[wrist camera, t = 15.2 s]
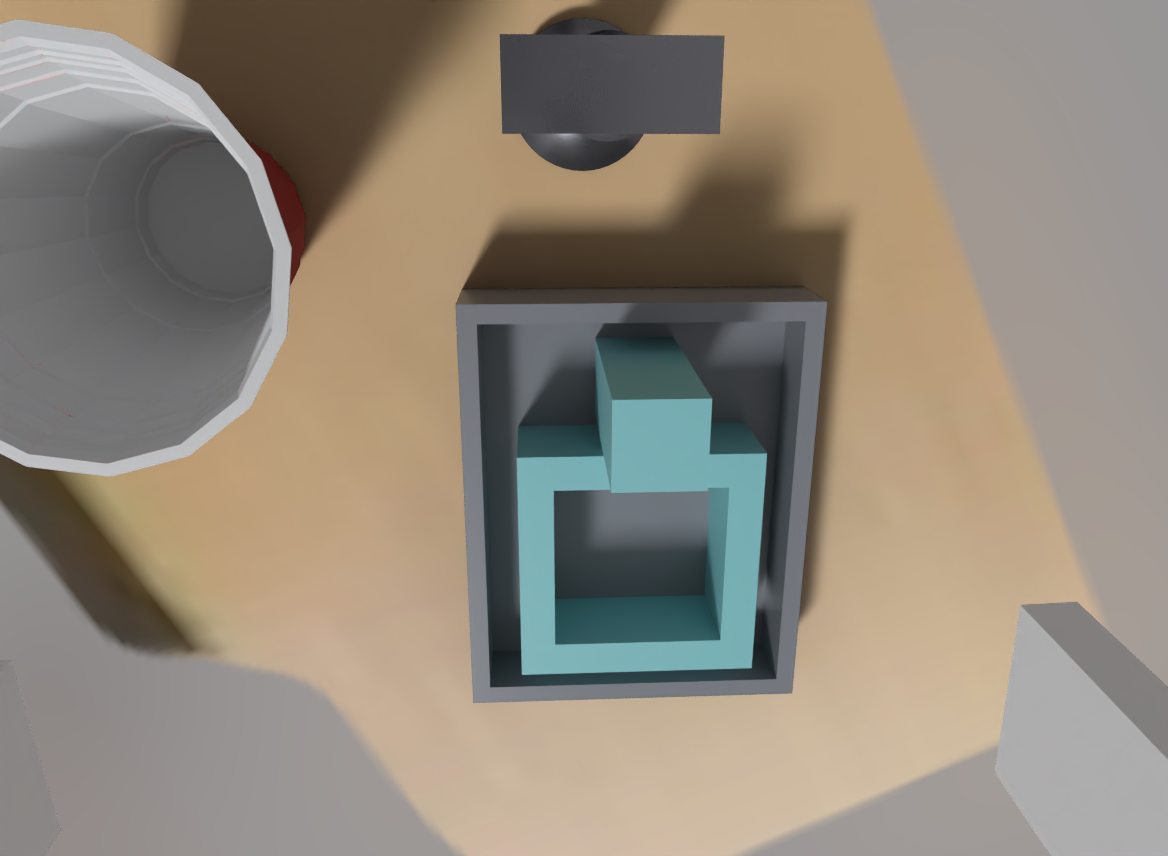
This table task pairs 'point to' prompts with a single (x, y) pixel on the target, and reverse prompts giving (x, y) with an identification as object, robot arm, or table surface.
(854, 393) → the table surface
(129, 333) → the plastic cup
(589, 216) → the table surface
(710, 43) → the t stake
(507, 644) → the tray
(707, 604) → the tabbed collar
